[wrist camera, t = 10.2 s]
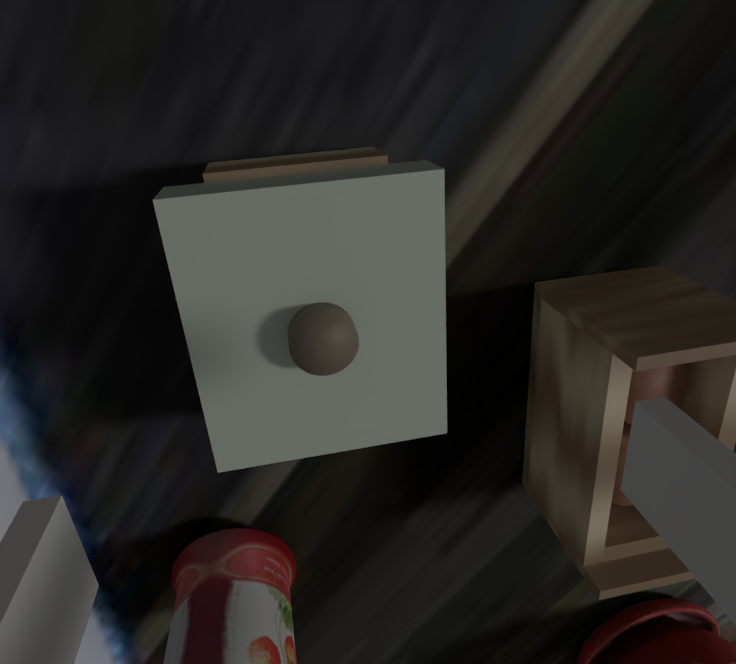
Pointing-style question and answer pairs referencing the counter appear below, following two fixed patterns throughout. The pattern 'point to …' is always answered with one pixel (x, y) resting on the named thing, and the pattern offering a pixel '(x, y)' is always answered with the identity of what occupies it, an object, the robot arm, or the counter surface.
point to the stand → (293, 164)
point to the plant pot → (658, 636)
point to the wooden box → (619, 407)
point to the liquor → (233, 600)
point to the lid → (312, 308)
